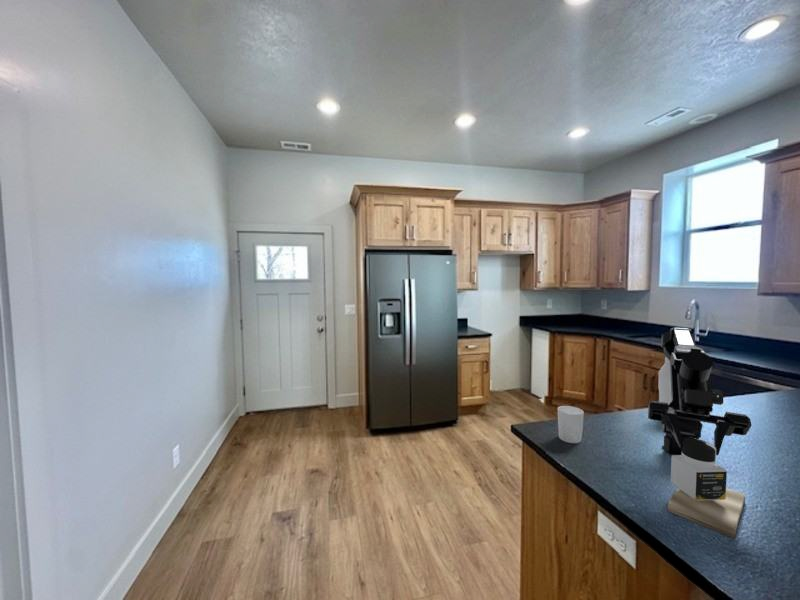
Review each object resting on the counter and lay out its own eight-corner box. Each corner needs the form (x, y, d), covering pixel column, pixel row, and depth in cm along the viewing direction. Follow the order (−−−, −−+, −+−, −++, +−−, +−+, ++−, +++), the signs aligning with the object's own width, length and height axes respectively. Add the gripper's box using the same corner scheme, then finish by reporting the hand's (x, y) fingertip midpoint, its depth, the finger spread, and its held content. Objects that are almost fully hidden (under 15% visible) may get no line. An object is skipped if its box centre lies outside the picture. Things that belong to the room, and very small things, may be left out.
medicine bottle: (695, 501, 77) (697, 449, 76) (669, 482, 84) (671, 435, 83) (726, 500, 77) (728, 449, 76) (697, 481, 84) (699, 434, 83)
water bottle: (652, 414, 136) (654, 352, 135) (668, 413, 136) (670, 352, 135) (667, 421, 129) (670, 356, 128) (685, 420, 129) (687, 356, 128)
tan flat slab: (685, 481, 90) (686, 474, 89) (745, 502, 81) (745, 494, 81) (667, 511, 78) (668, 502, 78) (734, 538, 70) (734, 528, 70)
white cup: (586, 445, 110) (587, 415, 110) (560, 443, 112) (560, 413, 111) (578, 434, 118) (579, 406, 117) (554, 433, 119) (555, 405, 119)
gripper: (650, 370, 88) (651, 427, 79) (750, 381, 78) (765, 448, 69) (647, 391, 95) (648, 445, 86) (739, 404, 85) (751, 467, 76)
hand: (698, 451), depth 79 cm, fingers closed on medicine bottle, 6 cm apart
